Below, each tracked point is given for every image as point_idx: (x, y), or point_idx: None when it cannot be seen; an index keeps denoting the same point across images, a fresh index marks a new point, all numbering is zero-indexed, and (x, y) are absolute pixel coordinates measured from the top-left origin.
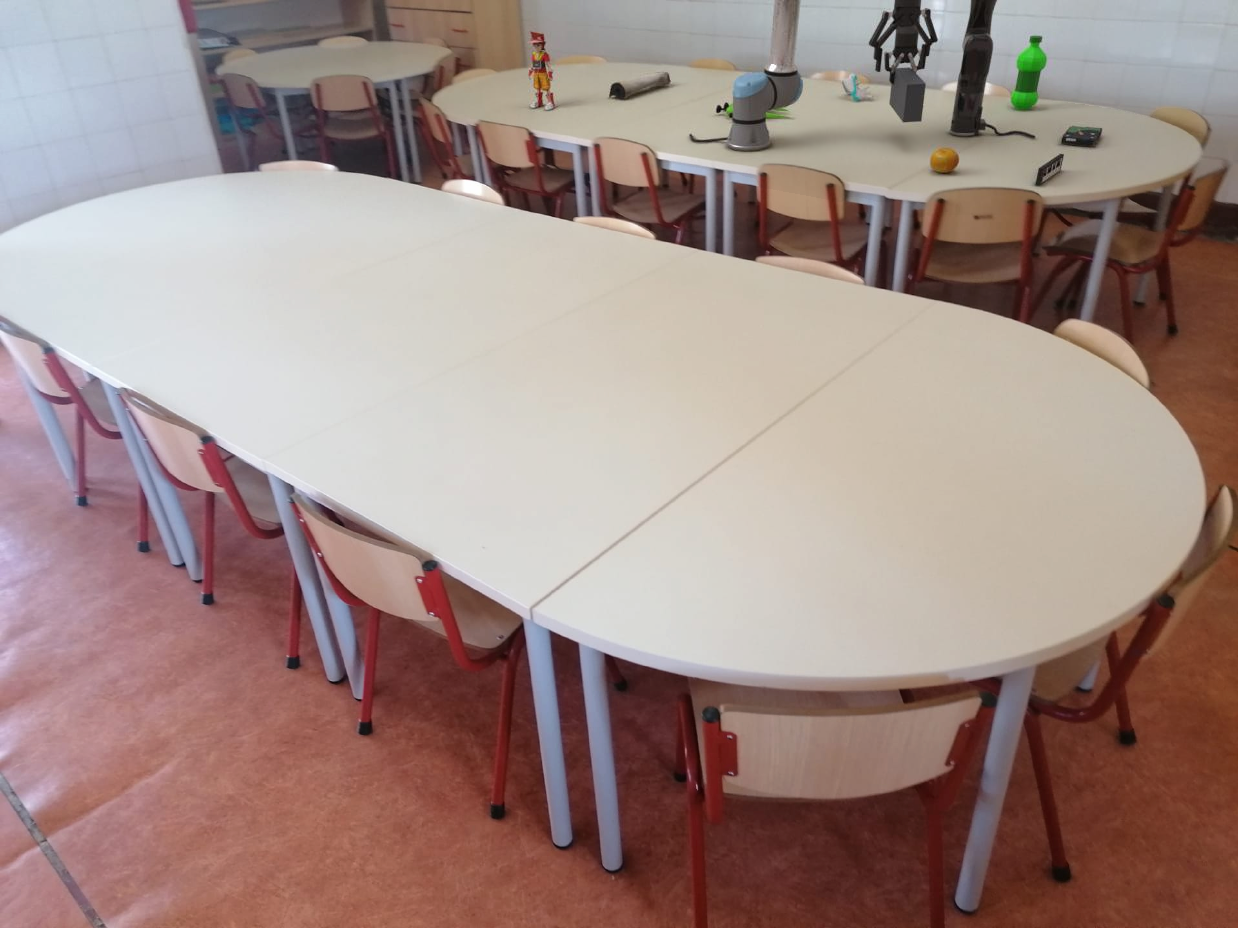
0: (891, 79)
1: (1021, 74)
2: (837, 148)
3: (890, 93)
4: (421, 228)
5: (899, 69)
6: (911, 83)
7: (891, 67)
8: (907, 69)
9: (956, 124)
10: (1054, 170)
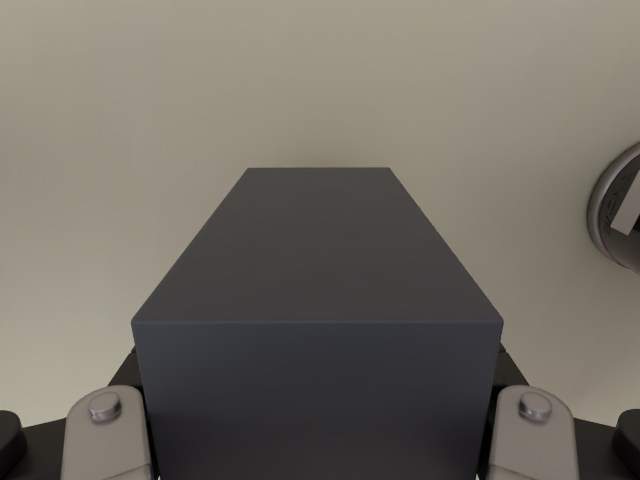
0: None
1: None
2: (26, 366)
3: (230, 192)
4: None
5: (251, 436)
6: None
7: (69, 471)
8: (393, 469)
9: (633, 262)
10: None
